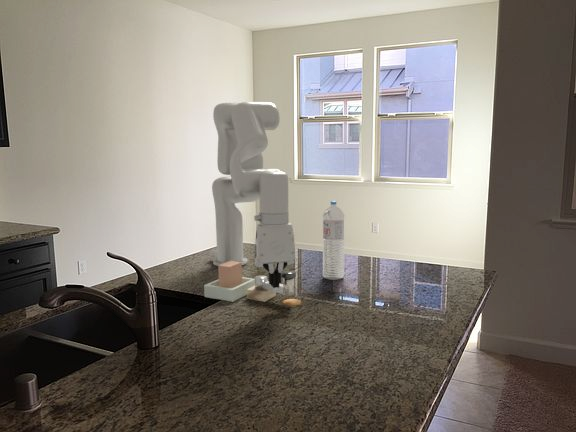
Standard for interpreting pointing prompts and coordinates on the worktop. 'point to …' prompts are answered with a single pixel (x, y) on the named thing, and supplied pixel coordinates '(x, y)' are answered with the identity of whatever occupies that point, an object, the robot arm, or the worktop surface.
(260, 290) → the crank base
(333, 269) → the water bottle
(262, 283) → the crank
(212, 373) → the worktop surface
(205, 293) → the tray
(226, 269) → the block
